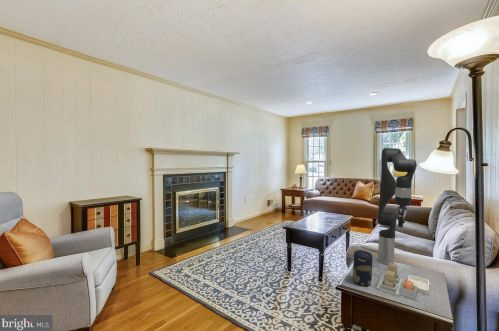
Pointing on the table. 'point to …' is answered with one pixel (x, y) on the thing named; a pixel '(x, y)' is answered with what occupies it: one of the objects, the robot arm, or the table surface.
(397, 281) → the board
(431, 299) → the table surface
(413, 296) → the console
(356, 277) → the canister
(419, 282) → the pale shallow tray
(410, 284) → the button
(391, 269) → the billet
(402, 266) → the table surface
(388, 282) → the billet
